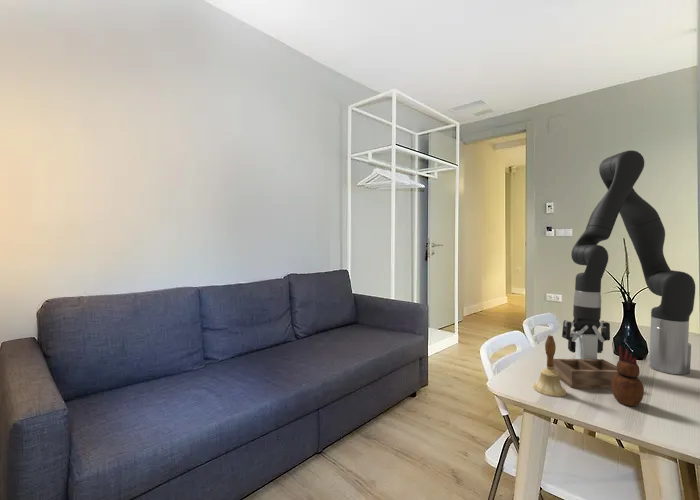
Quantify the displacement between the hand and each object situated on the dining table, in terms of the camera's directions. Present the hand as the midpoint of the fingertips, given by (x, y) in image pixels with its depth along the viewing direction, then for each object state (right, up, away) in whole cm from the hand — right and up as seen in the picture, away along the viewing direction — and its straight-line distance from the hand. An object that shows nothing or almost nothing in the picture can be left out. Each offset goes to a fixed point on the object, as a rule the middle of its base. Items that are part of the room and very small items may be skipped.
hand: (585, 352), depth 113 cm
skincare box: (0, -6, 0) cm, 6 cm away
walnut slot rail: (-6, -6, -10) cm, 13 cm away
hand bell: (-21, -6, -16) cm, 28 cm away
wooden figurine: (-5, -7, -23) cm, 25 cm away
